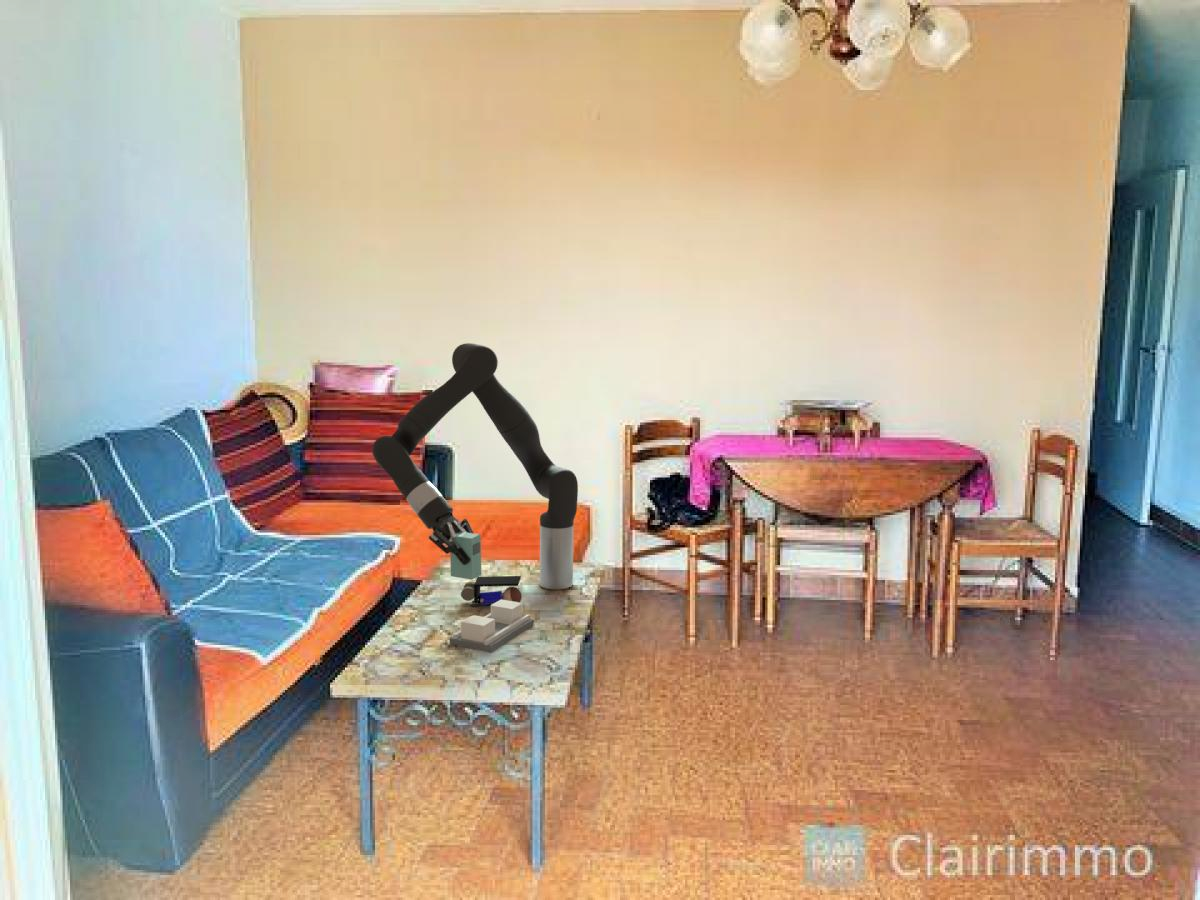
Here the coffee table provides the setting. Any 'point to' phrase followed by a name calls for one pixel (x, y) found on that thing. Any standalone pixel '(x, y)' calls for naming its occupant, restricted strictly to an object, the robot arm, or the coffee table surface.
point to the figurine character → (510, 594)
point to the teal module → (473, 550)
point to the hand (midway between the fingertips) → (472, 560)
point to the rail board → (495, 635)
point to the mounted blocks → (491, 620)
